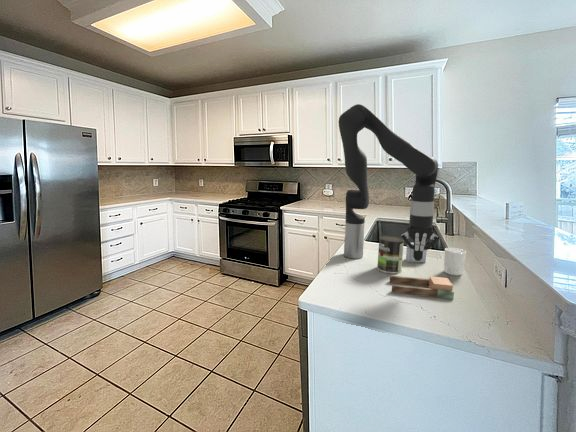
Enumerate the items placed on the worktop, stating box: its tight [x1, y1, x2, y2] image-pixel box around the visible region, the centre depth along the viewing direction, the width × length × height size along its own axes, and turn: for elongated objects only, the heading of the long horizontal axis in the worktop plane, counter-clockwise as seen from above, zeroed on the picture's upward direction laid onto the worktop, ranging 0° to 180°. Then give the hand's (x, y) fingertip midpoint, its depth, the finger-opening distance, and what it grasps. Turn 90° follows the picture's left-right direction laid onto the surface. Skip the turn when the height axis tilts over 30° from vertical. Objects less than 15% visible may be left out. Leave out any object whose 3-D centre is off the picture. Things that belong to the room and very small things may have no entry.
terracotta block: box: [428, 275, 454, 291], centre depth 104 cm, size 6×7×4 cm
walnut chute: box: [389, 275, 455, 300], centre depth 106 cm, size 20×10×2 cm, turn 75°
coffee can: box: [376, 235, 405, 275], centre depth 125 cm, size 10×10×14 cm
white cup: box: [443, 247, 467, 276], centre depth 122 cm, size 8×8×10 cm
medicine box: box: [405, 241, 428, 263], centre depth 137 cm, size 8×4×9 cm, turn 84°
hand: (417, 259), depth 105 cm, fingers closed
